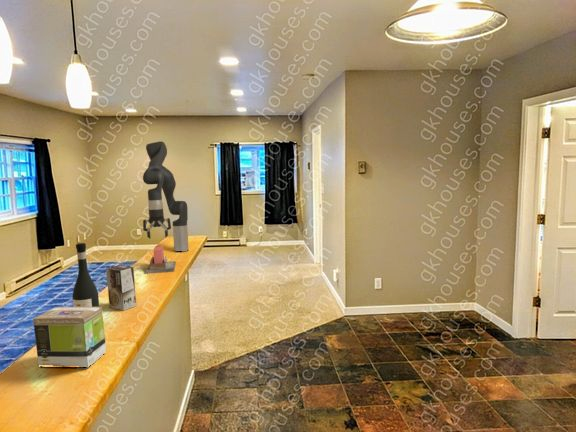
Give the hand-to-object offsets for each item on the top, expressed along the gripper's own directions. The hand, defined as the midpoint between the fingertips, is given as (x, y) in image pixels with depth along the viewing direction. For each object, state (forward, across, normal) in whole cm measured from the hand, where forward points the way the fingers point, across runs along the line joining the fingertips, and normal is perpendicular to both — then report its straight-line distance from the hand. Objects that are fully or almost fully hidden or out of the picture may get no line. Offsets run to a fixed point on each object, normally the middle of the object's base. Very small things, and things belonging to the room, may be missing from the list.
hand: (158, 237), depth 220 cm
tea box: (+17, -16, -105) cm, 108 cm away
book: (+16, 0, 0) cm, 16 cm away
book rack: (+17, 0, 0) cm, 17 cm away
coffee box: (+17, -9, -60) cm, 63 cm away
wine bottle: (+17, -18, -80) cm, 84 cm away
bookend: (+16, +5, 0) cm, 16 cm away
